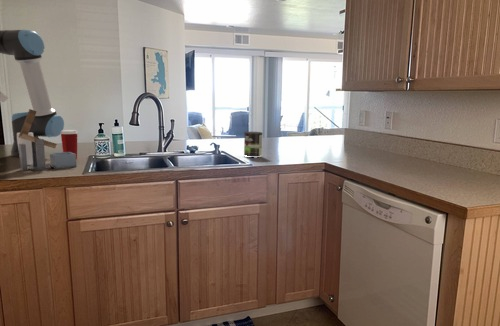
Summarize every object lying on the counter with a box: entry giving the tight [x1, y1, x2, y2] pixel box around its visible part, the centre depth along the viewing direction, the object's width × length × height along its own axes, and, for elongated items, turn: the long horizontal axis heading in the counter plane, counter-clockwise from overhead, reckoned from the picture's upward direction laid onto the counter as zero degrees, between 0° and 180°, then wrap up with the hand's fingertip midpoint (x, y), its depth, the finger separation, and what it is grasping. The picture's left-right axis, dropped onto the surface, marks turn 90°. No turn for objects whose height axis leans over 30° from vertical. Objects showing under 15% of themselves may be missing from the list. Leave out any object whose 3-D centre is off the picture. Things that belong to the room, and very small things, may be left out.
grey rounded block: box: [49, 151, 78, 170], centre depth 173 cm, size 9×9×6 cm
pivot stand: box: [28, 138, 51, 172], centre depth 166 cm, size 9×6×14 cm, turn 43°
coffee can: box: [243, 131, 263, 156], centre depth 214 cm, size 10×10×14 cm
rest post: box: [19, 144, 29, 172], centre depth 162 cm, size 4×2×11 cm, turn 43°
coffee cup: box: [60, 129, 79, 161], centre depth 191 cm, size 8×8×15 cm
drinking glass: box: [17, 132, 34, 166], centre depth 175 cm, size 7×7×15 cm
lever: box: [19, 108, 58, 149], centre depth 165 cm, size 6×14×13 cm, turn 133°
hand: (5, 100), depth 157 cm, fingers closed
